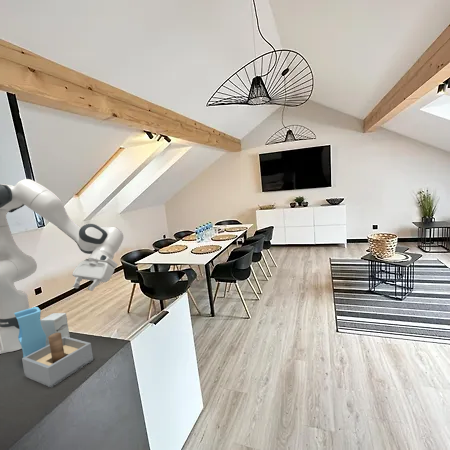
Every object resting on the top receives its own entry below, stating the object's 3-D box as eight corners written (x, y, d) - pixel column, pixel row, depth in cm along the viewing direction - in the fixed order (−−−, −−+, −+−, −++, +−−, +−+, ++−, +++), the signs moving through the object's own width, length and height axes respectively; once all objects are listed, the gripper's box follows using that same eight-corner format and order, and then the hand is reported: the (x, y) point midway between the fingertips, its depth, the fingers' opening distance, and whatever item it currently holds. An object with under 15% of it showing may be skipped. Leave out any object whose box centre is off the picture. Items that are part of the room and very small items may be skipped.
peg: (51, 367, 102) (45, 337, 100) (61, 361, 105) (56, 331, 104) (57, 370, 100) (52, 338, 98) (68, 363, 103) (63, 333, 102)
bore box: (25, 376, 99) (21, 358, 98) (67, 352, 113) (65, 336, 112) (51, 387, 92) (47, 368, 91) (93, 360, 106) (90, 343, 105)
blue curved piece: (22, 360, 110) (13, 313, 108) (45, 351, 115) (37, 306, 113) (25, 368, 104) (16, 318, 102) (49, 358, 110) (41, 310, 108)
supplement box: (57, 348, 117) (53, 320, 116) (43, 348, 119) (38, 320, 117) (70, 339, 124) (66, 312, 123) (57, 338, 126) (52, 312, 124)
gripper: (79, 255, 124) (61, 282, 117) (110, 257, 114) (92, 288, 107) (89, 262, 128) (72, 289, 121) (120, 265, 119) (103, 295, 111)
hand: (82, 288), depth 114 cm, fingers open, 8 cm apart
